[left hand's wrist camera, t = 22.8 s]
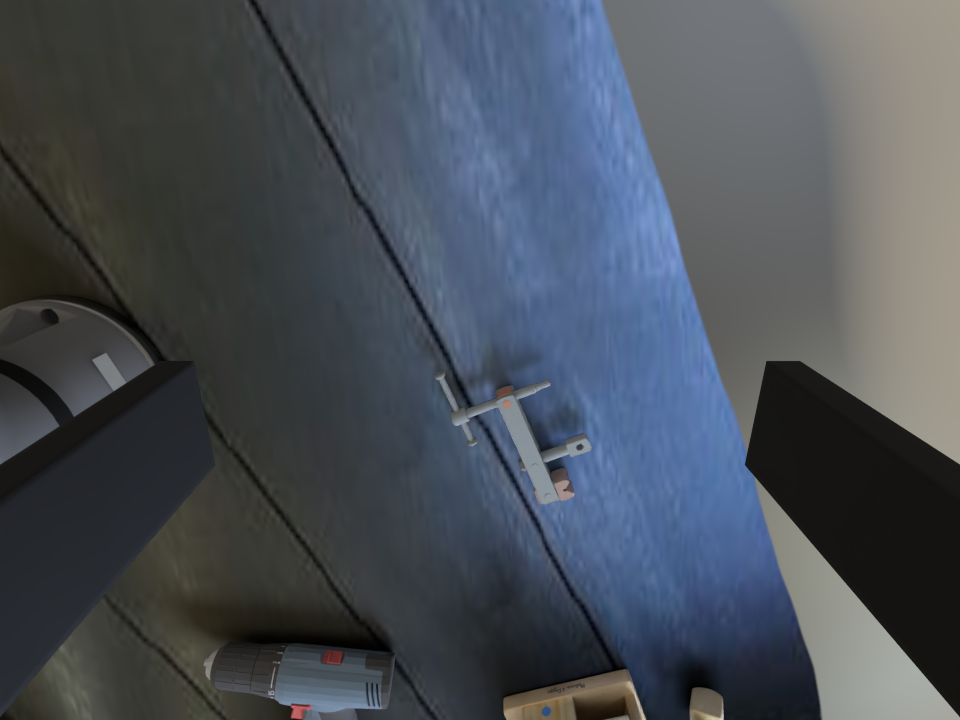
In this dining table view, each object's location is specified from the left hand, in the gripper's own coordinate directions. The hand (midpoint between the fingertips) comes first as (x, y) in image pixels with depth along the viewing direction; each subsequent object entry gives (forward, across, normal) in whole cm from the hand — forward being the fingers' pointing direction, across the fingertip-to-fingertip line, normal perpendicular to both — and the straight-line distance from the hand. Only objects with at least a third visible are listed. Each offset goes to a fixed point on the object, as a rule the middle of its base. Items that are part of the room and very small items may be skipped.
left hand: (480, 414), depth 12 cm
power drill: (+30, +19, +50) cm, 62 cm away
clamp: (+30, -4, +16) cm, 35 cm away
